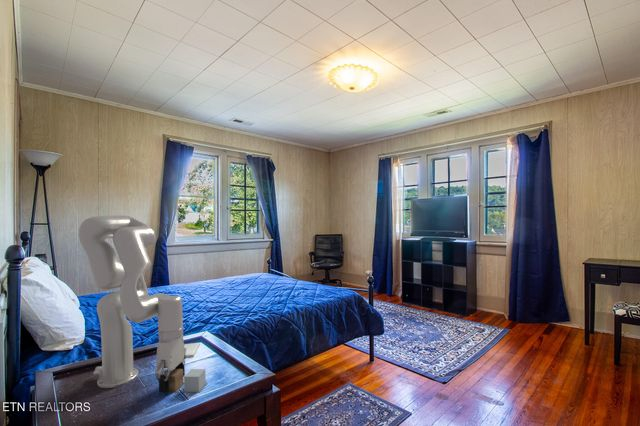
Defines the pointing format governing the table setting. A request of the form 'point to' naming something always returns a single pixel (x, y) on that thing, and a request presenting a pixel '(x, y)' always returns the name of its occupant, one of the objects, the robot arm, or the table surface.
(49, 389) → the table surface
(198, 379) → the light grey cube
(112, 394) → the table surface
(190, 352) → the hard drive
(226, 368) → the table surface
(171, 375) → the walnut block
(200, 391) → the board
